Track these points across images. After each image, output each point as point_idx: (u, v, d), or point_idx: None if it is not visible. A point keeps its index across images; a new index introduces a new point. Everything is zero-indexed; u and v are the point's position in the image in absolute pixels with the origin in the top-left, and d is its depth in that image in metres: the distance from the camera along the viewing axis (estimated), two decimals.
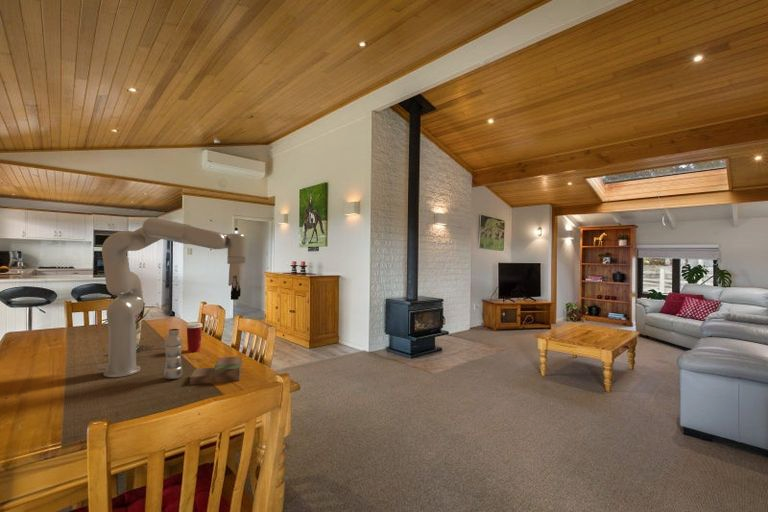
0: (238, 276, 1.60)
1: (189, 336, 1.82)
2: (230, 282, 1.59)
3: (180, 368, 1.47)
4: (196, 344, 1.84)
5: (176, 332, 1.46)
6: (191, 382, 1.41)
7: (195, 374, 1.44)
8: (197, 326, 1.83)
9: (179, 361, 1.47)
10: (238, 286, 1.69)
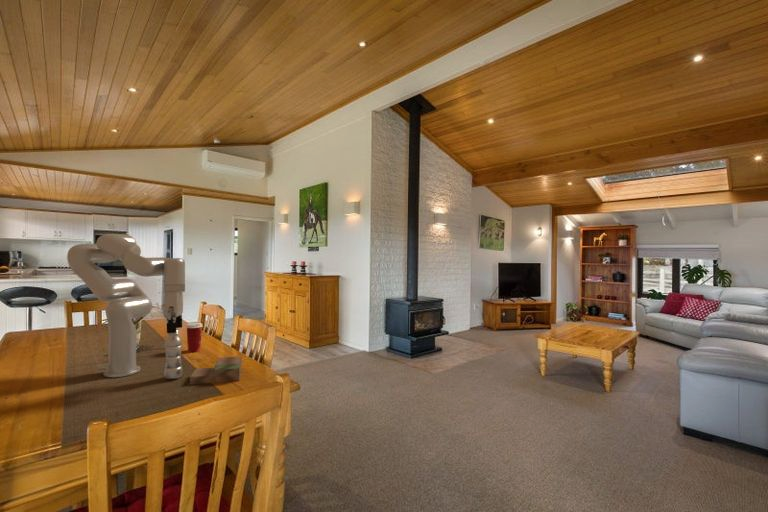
0: (175, 306, 1.43)
1: (189, 336, 1.82)
2: (166, 314, 1.41)
3: (180, 368, 1.47)
4: (196, 344, 1.84)
5: (176, 332, 1.46)
6: (191, 382, 1.41)
7: (195, 374, 1.44)
8: (197, 326, 1.83)
9: (179, 361, 1.47)
10: (179, 316, 1.52)
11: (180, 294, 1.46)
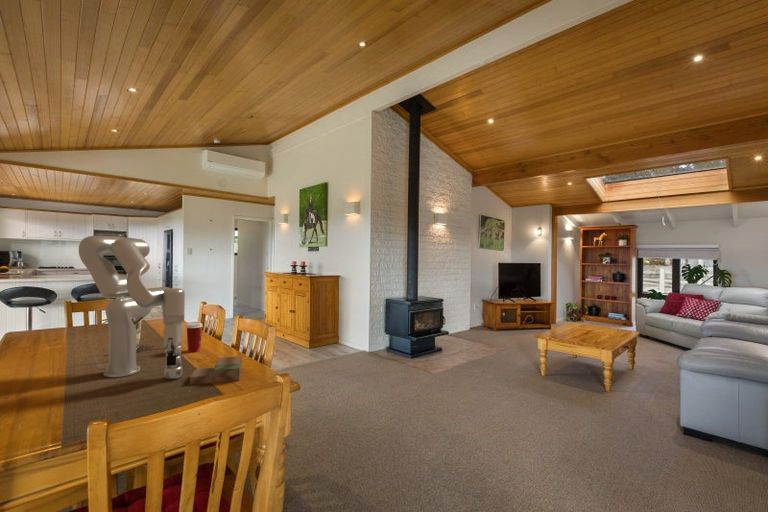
0: (174, 338, 1.43)
1: (189, 336, 1.82)
2: (165, 345, 1.42)
3: (180, 368, 1.47)
4: (196, 344, 1.84)
5: None
6: (191, 382, 1.41)
7: (195, 374, 1.44)
8: (197, 326, 1.83)
9: (179, 361, 1.47)
10: None
11: (179, 325, 1.46)
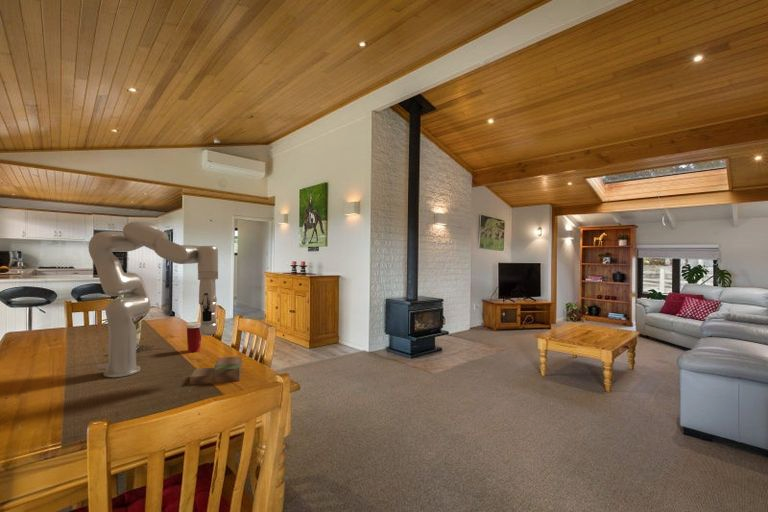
0: (209, 293, 1.44)
1: (189, 336, 1.82)
2: (200, 300, 1.43)
3: (215, 324, 1.48)
4: (196, 344, 1.84)
5: None
6: (191, 382, 1.41)
7: (195, 374, 1.44)
8: (197, 326, 1.83)
9: (214, 317, 1.48)
10: None
11: (214, 281, 1.47)
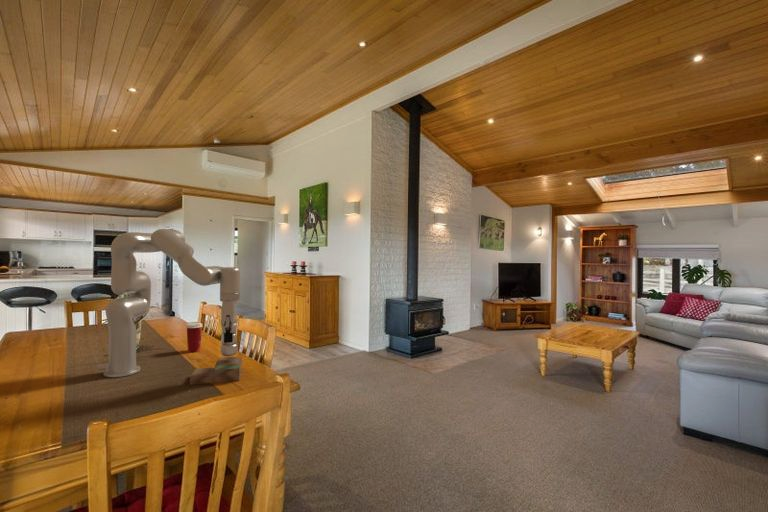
0: (232, 315, 1.45)
1: (189, 336, 1.82)
2: (223, 322, 1.44)
3: (236, 345, 1.49)
4: (196, 344, 1.84)
5: None
6: (191, 382, 1.41)
7: (195, 374, 1.44)
8: (197, 326, 1.83)
9: (235, 338, 1.49)
10: None
11: (235, 303, 1.49)
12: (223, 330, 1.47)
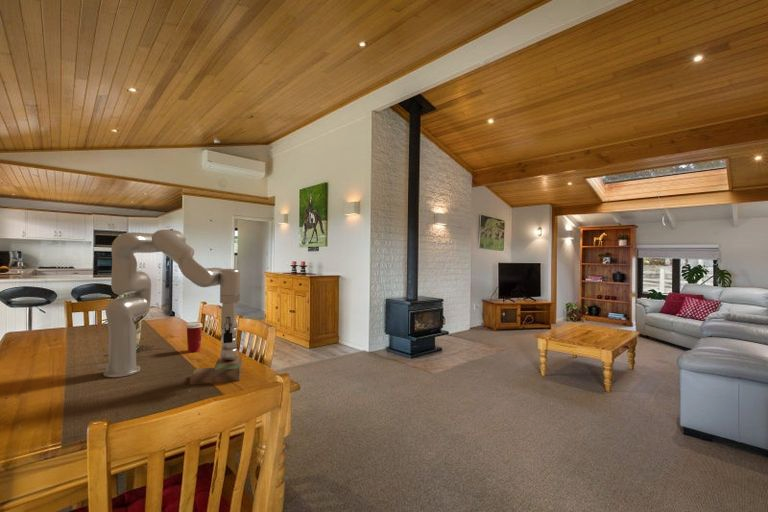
0: (232, 317, 1.45)
1: (189, 336, 1.82)
2: (223, 324, 1.44)
3: (236, 350, 1.50)
4: (196, 344, 1.84)
5: None
6: (191, 382, 1.41)
7: (195, 374, 1.44)
8: (197, 326, 1.83)
9: (235, 343, 1.50)
10: None
11: (235, 304, 1.49)
12: (223, 335, 1.48)
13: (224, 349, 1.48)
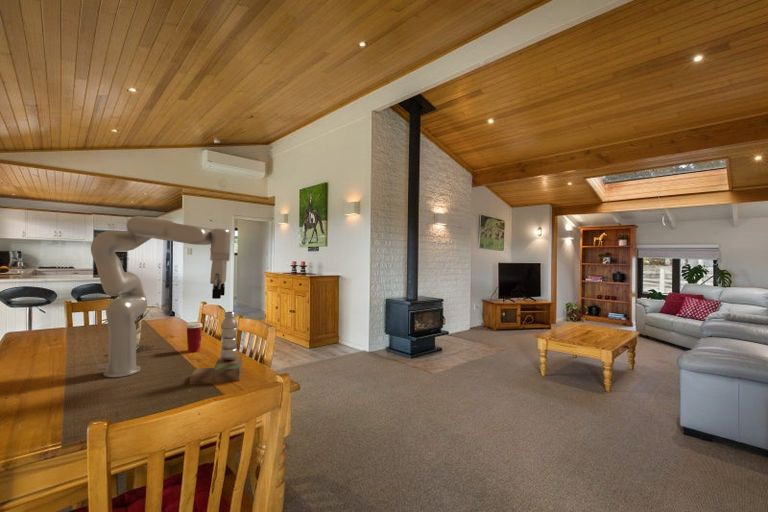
0: (221, 274, 1.51)
1: (189, 336, 1.82)
2: (212, 280, 1.50)
3: (236, 350, 1.50)
4: (196, 344, 1.84)
5: (232, 314, 1.50)
6: (191, 382, 1.41)
7: (195, 374, 1.44)
8: (197, 326, 1.83)
9: (235, 343, 1.50)
10: (222, 284, 1.60)
11: (225, 263, 1.54)
12: (223, 335, 1.48)
13: (224, 349, 1.48)
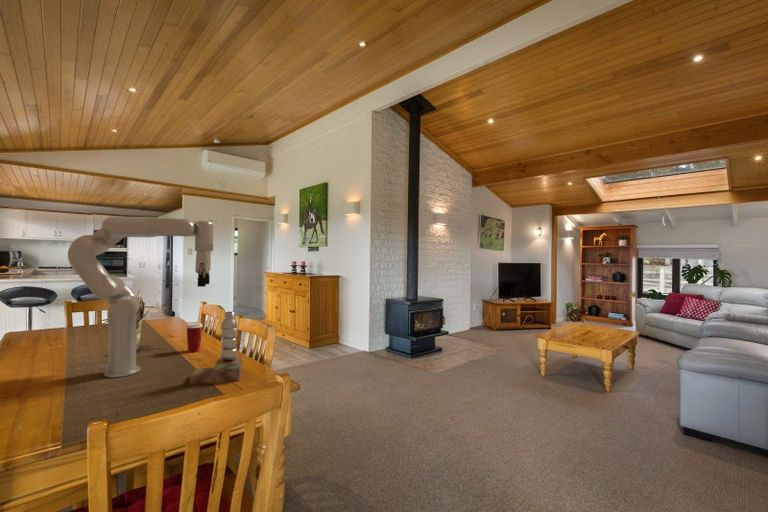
0: (205, 263, 1.61)
1: (189, 336, 1.82)
2: (197, 269, 1.60)
3: (236, 350, 1.50)
4: (196, 344, 1.84)
5: (232, 314, 1.50)
6: (191, 382, 1.41)
7: (195, 374, 1.44)
8: (197, 326, 1.83)
9: (235, 343, 1.50)
10: (207, 274, 1.70)
11: (209, 253, 1.64)
12: (223, 335, 1.48)
13: (224, 349, 1.48)
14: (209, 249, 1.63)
